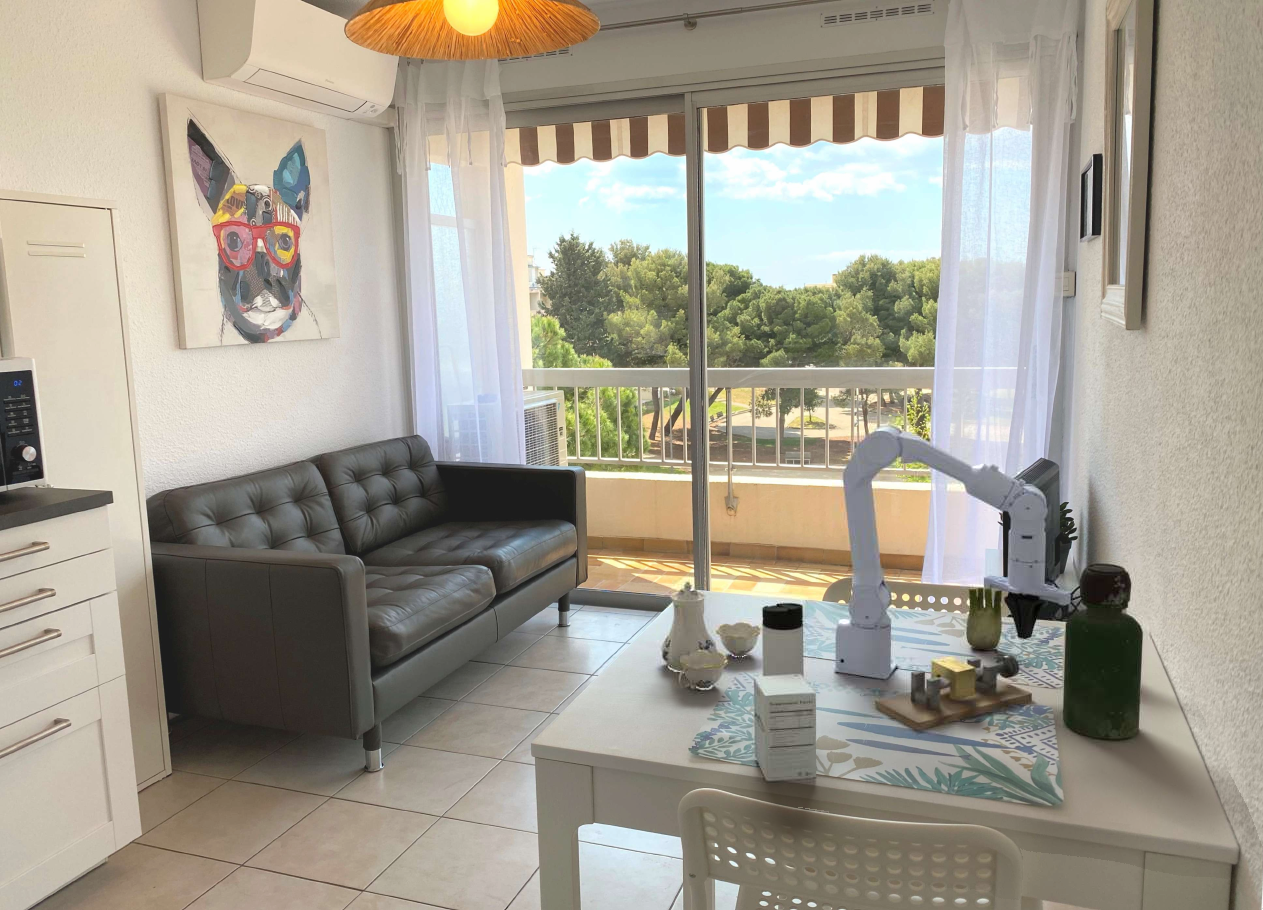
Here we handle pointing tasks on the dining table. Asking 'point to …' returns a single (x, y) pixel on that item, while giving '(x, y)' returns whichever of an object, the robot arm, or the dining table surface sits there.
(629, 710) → the dining table surface
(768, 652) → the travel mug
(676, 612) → the chinaware
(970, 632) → the fennel bulb
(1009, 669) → the shaft
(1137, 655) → the green bottle
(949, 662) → the spacer
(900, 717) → the shaft bracket
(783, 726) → the supplement box
